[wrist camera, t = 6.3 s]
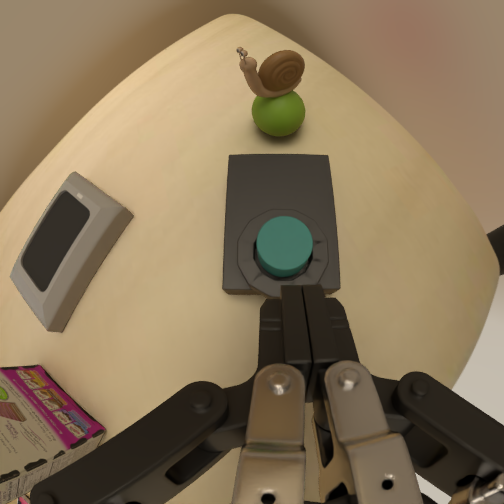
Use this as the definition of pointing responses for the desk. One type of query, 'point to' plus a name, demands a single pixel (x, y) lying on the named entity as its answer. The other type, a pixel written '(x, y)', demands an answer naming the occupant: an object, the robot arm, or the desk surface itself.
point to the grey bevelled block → (67, 249)
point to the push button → (284, 246)
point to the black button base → (274, 205)
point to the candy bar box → (38, 430)
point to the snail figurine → (275, 91)
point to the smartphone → (23, 500)
